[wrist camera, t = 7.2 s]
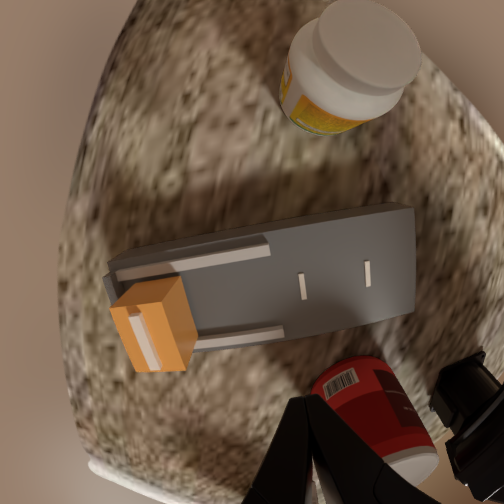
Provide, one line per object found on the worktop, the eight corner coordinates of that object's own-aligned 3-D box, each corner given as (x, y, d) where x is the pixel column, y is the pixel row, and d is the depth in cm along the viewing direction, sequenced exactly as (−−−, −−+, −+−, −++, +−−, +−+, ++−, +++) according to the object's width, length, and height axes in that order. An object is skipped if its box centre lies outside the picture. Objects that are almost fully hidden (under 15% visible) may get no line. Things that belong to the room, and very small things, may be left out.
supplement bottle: (263, 80, 16) (267, 0, 7) (333, 54, 15) (385, -23, 6) (303, 151, 17) (350, 127, 8) (371, 121, 16) (458, 87, 7)
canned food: (295, 413, 23) (307, 515, 12) (326, 346, 21) (364, 461, 10) (366, 417, 23) (397, 503, 12) (403, 355, 21) (461, 444, 10)
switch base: (392, 202, 18) (424, 210, 14) (396, 294, 19) (422, 319, 15) (126, 250, 19) (97, 268, 15) (154, 334, 21) (135, 365, 17)
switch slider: (180, 275, 16) (158, 305, 12) (198, 335, 17) (184, 375, 13) (135, 283, 16) (105, 311, 12) (155, 339, 17) (133, 376, 13)
